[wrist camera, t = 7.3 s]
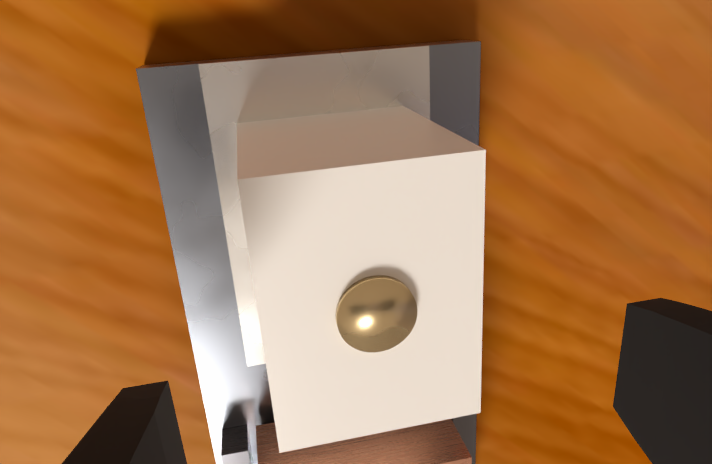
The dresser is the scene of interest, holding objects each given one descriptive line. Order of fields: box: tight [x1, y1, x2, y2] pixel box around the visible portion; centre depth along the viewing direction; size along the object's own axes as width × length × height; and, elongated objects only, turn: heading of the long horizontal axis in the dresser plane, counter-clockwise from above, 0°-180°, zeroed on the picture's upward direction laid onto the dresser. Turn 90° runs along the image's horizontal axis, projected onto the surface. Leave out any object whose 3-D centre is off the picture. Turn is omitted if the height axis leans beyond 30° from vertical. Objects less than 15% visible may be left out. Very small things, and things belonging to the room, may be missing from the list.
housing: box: [237, 106, 486, 453], centre depth 13 cm, size 4×6×6 cm
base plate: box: [136, 40, 481, 464], centre depth 18 cm, size 9×18×2 cm, turn 4°
